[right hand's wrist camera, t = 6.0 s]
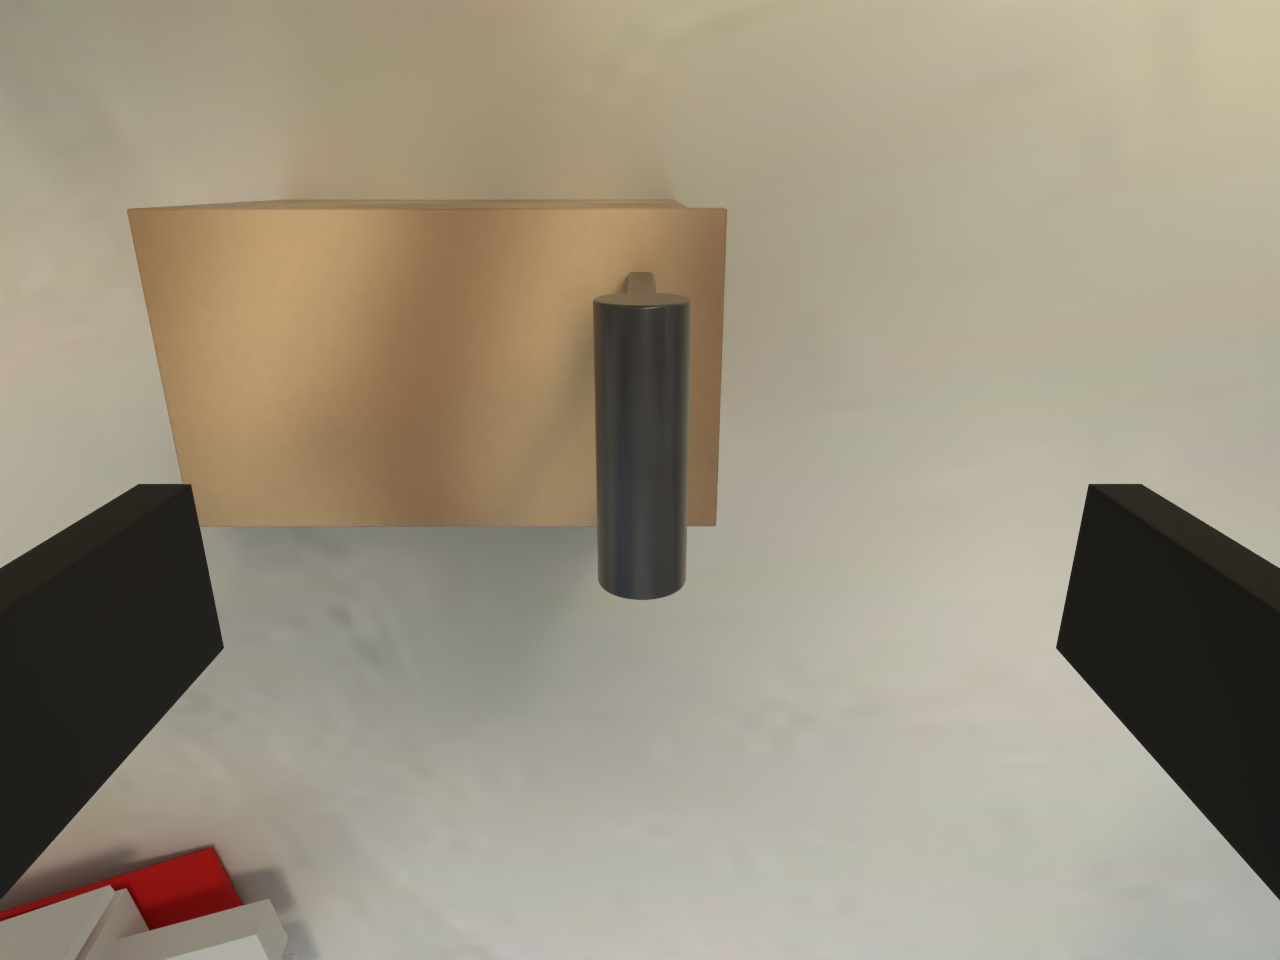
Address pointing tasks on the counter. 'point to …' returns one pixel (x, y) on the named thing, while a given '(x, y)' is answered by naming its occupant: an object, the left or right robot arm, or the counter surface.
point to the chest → (445, 204)
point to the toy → (148, 919)
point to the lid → (447, 369)
